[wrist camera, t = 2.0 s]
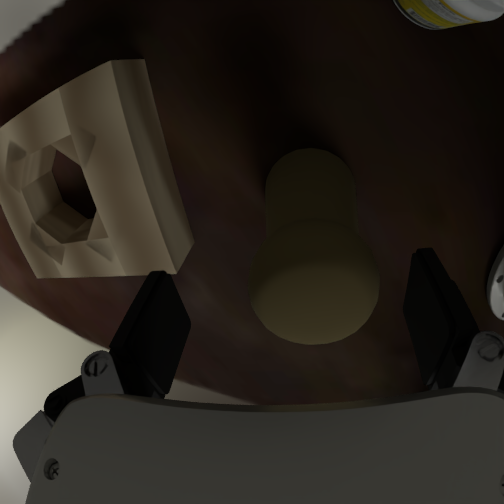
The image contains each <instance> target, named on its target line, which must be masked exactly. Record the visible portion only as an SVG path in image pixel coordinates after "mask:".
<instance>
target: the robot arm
mask: <svg viewBox="0 0 504 504" xmlns="http://www.w3.org/2000/svg"><path fill="white" fill-rule="evenodd" d="M486 296H487V300H488V304H489V306H490V308H491V310H492V312H493V313H494V315H495V316H496V317H497V318H499V319H501V320H504V245H503V247H502V248H501V250H500V251H499V253H498V255H497V257H496V259H495V261H494V263H493V266H492V269H491V271H490V274H489V278H488V283H487V295H486ZM403 312H404V316H405V319H406V323H407V326H408V329H409V332H410V336H411V339H412V342H413V346H414V349H415V353H416V357H417V360H418V364H419V368H420V372H421V376H422V380H423V383H424V385H428V388H429V391H424V392H418V393H412V394H406V395H399V396H392V397H385V398H377V399H369V400H360V401H351V402H339V403H325V404H307V405H230V404H213V403H198V402H187V401H177V400H169V399H164V397H165V394H168V393H169V391H170V388H171V385H172V382H173V379H174V376H175V373H176V370H177V367H178V364H179V361H180V358H181V355H182V352H183V349H184V346H185V343H186V340H187V337H188V334H189V331H190V328H191V321H190V318H189V316H188V314H187V312H186V309H185V307H184V305H183V303H182V300H181V298H180V296H179V293H178V291H177V289H176V286H175V284H174V282H173V279H172V277H171V275H170V274H167V272H166V271H164V270H159V271H151V272H150V273H149V275H148V276H147V278H146V280H145V281H144V283H143V285H142V287H141V288H140V290H139V292H138V294H137V295H136V297H135V299H134V301H133V303H132V304H131V306H130V308H129V310H128V312H127V313H126V315H125V317H124V319H123V321H122V323H121V324H120V326H119V328H118V330H117V332H116V334H115V336H114V338H113V340H112V342H111V343H110V345H109V347H110V348H111V349H110V351H109V353H108V352H107V351H103V350H100V351H96V352H93V353H92V354H90V355H89V356H88V357H87V358H86V359H85V360H84V362H83V363H82V366H81V375H80V376H78V377H77V378H75V379H74V380H72V381H70V382H68V383H67V384H65V385H63V386H61V387H60V388H58V389H56V390H55V391H53V392H52V393H50V394H49V396H48V397H47V398H46V401H45V404H44V411H41V410H40V411H39V412H38V413H37V414H36V415H35V416H34V417H33V418H32V419H31V420H30V421H29V422H28V423H27V424H26V425H25V426H24V427H23V428H21V429H20V431H18V432H17V434H16V435H15V437H14V440H13V448H14V451H15V453H16V455H17V457H18V459H19V461H20V463H21V465H22V467H23V469H24V471H25V473H26V475H27V477H28V479H29V480H30V482H31V485H30V488H29V492H28V495H27V499H26V504H504V339H503V338H502V337H501V336H500V335H499V334H497V333H495V332H492V331H482V332H480V331H479V329H478V326H477V324H476V322H475V320H474V318H473V316H472V314H471V312H470V310H469V308H468V306H467V304H466V302H465V300H464V298H463V296H462V294H461V292H460V290H459V289H458V287H457V285H456V283H455V282H454V281H453V280H451V279H450V277H449V276H448V274H447V272H446V270H445V269H444V267H443V265H442V263H441V262H440V260H439V258H438V257H437V255H436V253H435V252H434V250H433V249H432V248H421V249H417V251H416V253H413V254H412V259H411V266H410V272H409V278H408V284H407V290H406V295H405V300H404V305H403Z"/></svg>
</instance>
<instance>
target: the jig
mask: <svg viewBox="0 0 504 504" xmlns="http://www.w3.org/2000/svg"><path fill="white" fill-rule="evenodd" d="M56 150H59V151H60V152H62V153H63V154H65V155H66V156H67V157H69V158H70V159H72V160H73V161H75V162H76V163H78V164H79V165H80V166H81V167H82V170H83V173H84V176H85V179H86V181H87V184H88V187H89V190H90V192H91V195H92V198H93V200H94V203H95V205H96V208H97V211H96V214H95V217H94V218H92V219H87V218H86V217H84V216H83V215H81V214H80V213H79V212H77V211H76V210H74V209H73V208H72V207H70V206H69V205H68V204H66V203H65V202H64V201H63V199H62V197H61V194H60V192H59V189H58V186H57V184H56V181H55V178H54V176H53V173H52V166H53V162H54V158H55V154H56ZM0 204H1V206H2V208H3V211H4V213H5V215H6V218H7V220H8V222H9V224H10V227H11V229H12V231H13V233H14V235H15V237H16V239H17V241H18V243H19V245H20V247H21V249H22V251H23V253H24V255H25V257H26V259H27V261H28V262H29V264H30V266H31V268H32V270H33V272H34V273H35V275H36V277H37V278H69V277H103V276H132V275H149V273H150V272H151V271H159V270H164V271H166V272H167V274H177V272H178V270H179V269H180V267H181V265H182V263H183V261H184V260H185V258H186V256H187V254H188V252H189V251H190V249H191V247H192V245H193V244H194V242H195V241H194V238H193V235H192V232H191V229H190V225H189V222H188V219H187V216H186V212H185V209H184V206H183V203H182V199H181V196H180V193H179V189H178V186H177V182H176V179H175V175H174V172H173V168H172V165H171V161H170V158H169V154H168V151H167V147H166V143H165V140H164V136H163V132H162V128H161V125H160V121H159V117H158V113H157V109H156V105H155V101H154V97H153V93H152V89H151V85H150V81H149V76H148V72H147V68H146V63H145V59H129V60H110V61H108V62H106V63H104V64H102V65H100V66H98V67H96V68H94V69H92V70H90V71H88V72H86V73H84V74H82V75H80V76H79V77H77V78H75V79H73V80H71V81H70V82H68V83H66V84H64V85H63V86H61V87H59V88H58V89H56V90H54V91H53V92H51V93H49V94H48V95H46V96H45V97H43V98H41V99H40V100H38V101H37V102H35V103H34V104H32V105H31V106H29V107H28V108H27V109H25V110H24V111H22V112H21V113H19V114H18V115H17V116H15V117H14V118H13V119H11V120H10V121H9V122H7V123H6V124H5V125H3V126H2V127H1V128H0Z"/></svg>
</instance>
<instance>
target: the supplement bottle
mask: <svg viewBox="0 0 504 504" xmlns="http://www.w3.org/2000/svg"><path fill="white" fill-rule="evenodd" d="M393 1H394V3H395V5H396V6H397V7H398V9H399V10H400V11H401V12H402V13H403V14H404V15H405V16H406V17H407V18H408V19H409V20H411V21H412V22H414V23H415V24H417V25H419V26H422V27H424V28H428V29H434V30H439V29H445V28H449V27H454V26H460V25H465V24H471V23H478V22H484V21H491V20H494V19H496V18H498V17H500V16H501V15H502V14H503V13H504V0H393Z"/></svg>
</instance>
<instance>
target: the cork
mask: <svg viewBox="0 0 504 504" xmlns="http://www.w3.org/2000/svg"><path fill="white" fill-rule="evenodd" d="M265 205H266V232H267V238H266V239H265V241H264V242H263V243H262V244H261V246H260V248H259V249H258V251H257V253H256V255H255V256H254V258H253V260H252V263H251V267H250V271H249V279H248V292H249V297H250V301H251V304H252V307H253V310H254V312H255V313H256V315H257V316H258V318H259V319H260V320H261V321H262V323H263V324H264V325H265V327H266V328H267V329H269V330H270V331H271V332H273V333H274V334H276V335H277V336H279V337H281V338H284V339H286V340H289V341H291V342H295V343H302V344H309V345H313V344H327V343H330V342H334V341H338V340H341V339H343V338H345V337H347V336H349V335H351V334H352V333H354V332H356V331H357V330H358V329H359V328H360V327H361V326H362V325H363V324H364V323H365V322H366V321H367V320H368V318H369V316H370V315H371V313H372V311H373V309H374V307H375V305H376V303H377V301H378V294H379V280H380V273H379V270H378V267H377V264H376V261H375V259H374V256H373V253H372V250H371V249H370V248H369V246H368V245H367V244H366V243H365V242H364V241H363V240H362V239H361V237H360V236H359V233H358V214H357V199H356V187H355V180H354V178H353V175H352V173H351V171H350V168H349V167H348V166H347V165H346V164H345V163H344V162H343V161H342V160H341V159H340V158H339V157H337V156H335V155H334V154H332V153H330V152H328V151H326V150H321V149H315V148H306V149H298V150H295V151H293V152H291V153H288V154H286V155H284V156H283V157H282V158H281V159H279V160H278V161H277V162H276V163H275V164H274V165H273V167H272V169H271V170H270V172H269V174H268V176H267V179H266V187H265Z"/></svg>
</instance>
